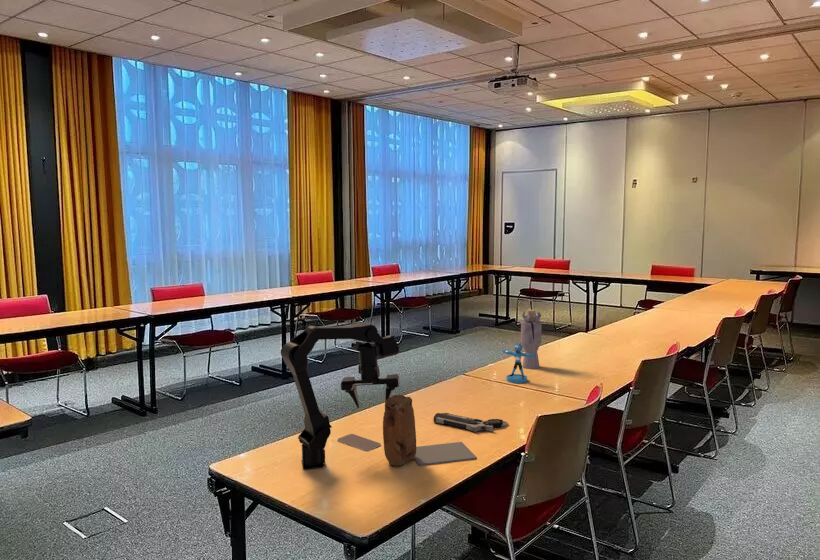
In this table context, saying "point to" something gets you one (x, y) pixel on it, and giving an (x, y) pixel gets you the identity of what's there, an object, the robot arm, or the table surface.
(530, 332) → the purple tower sculpture
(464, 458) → the mat
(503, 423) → the firearm
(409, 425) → the brown pitted rounded part
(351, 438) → the smartphone
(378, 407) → the table surface
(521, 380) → the figurine
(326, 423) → the robot arm
